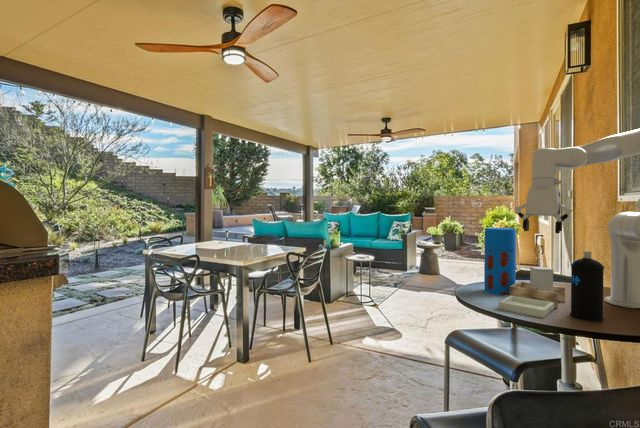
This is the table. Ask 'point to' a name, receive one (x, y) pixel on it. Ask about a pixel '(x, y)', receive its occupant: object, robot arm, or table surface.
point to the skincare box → (541, 278)
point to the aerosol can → (587, 289)
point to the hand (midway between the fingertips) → (541, 232)
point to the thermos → (499, 260)
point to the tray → (527, 306)
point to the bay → (537, 293)
